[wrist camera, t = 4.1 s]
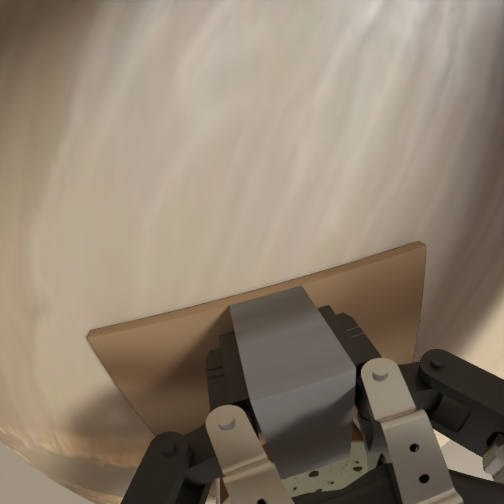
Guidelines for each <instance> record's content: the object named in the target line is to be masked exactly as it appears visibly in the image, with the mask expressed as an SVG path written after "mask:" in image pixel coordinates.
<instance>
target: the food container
mask: <svg viewBox="0 0 504 504" xmlns="http://www.w3.org/2000/svg"><path fill="white" fill-rule="evenodd" d="M262 447H263V449H264V451H265V453H266V455H267V457H268V458H269V459H270V461H271V463H272V465H273V467H274V468H275V470H276V472H277V474H278V471H277V469H276V467H275V464H274V462H273V459H272V457H271V454H270V452H269V449H268V447H267V444H266V443H265V444H263V445H262ZM367 472H368V469H367V455H366V450H365V446H364V442H363V437H362V433H361V429H360V425H359V422H358V420H357V419H356V417H355V416H354V417H353V429H352V440H351V450H350V457H348V458H346V459H343V460H340V461H338V462H335V463H332V464H329V465H327V466H324V467H321V468H318V469H315V470H311V471H308V472H305V473H302V474H298V475H295V476H291V477H288V478H284V479H281V481H282V483H283V485H284V486H285V488H286V490H287V492H288V493H289V495H290V497H295V496H298V495H302V494H305V493H312V492H323V491H331V490H339V489H342V488H344V487H346V486H348V485H349V484H351V483H352V482H354V481H355V480H357V479H358V478H360V477H361V476H362V475H364V474H365V473H367ZM278 476H279V474H278ZM279 477H280V476H279ZM216 504H233V503H232V501H231V499H230V496H229V494H228V492H227V489H226V487H225V484H224V481H223V478H222V476H221V477H219V478H217V479H216Z"/></svg>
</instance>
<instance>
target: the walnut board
mask: <svg viewBox="0 0 504 504" xmlns="http://www.w3.org/2000/svg"><path fill="white" fill-rule="evenodd" d="M425 261H426V245H425V244H423V243H421V242H420V241H417V242H414V243H411V244H408V245H405V246H402V247H399V248H396V249H393V250H390V251H387V252H384V253H380V254H377V255H374V256H371V257H368V258H364V259H361V260H358V261H355V262H351V263H348V264H345V265H342V266H338V267H335V268H332V269H328V270H325V271H322V272H318V273H315V274H311V275H308V276H304V277H301V278H297V279H294V280H290V281H287V282H283V283H280V284H276V285H273V286H269V287H265V288H262V289H258V290H254V291H251V292H247V293H243V294H240V295H236V296H232V297H228V298H224V299H221V300H217V301H213V302H209V303H205V304H201V305H197V306H193V307H189V308H185V309H181V310H177V311H173V312H169V313H165V314H161V315H156V316H152V317H148V318H144V319H139V320H135V321H131V322H126V323H122V324H117V325H113V326H108V327H104V328H99V329H95V330H91V331H90V333H89V335H88V338H87V339H88V340H89V342H90V344H91V345H92V347H93V349H94V350H95V352H96V354H97V355H98V357H99V359H100V360H101V362H102V363H103V365H104V367H105V368H106V370H107V371H108V373H109V374H110V376H111V377H112V379H113V380H114V382H115V383H116V385H117V386H118V388H119V389H120V391H121V392H122V393H123V395H124V396H125V398H126V399H127V400H128V402H129V403H130V404H131V406H132V407H133V409H134V410H135V411H136V413H137V414H138V415H139V416H140V418H141V419H142V420H143V422H144V423H145V424H146V425H147V427H148V428H149V429H150V430H151V432H152V433H153V434H154V435H155V436H157V435H159V434H161V433H164V432H168V431H173V432H177V433H180V434H181V435H185V434H187V433H189V432H192V431H194V430H196V429H198V428H199V427H201V426H202V425H203V424H204V423H205V422H206V419H207V417H208V415H209V414H210V405H209V395H208V385H207V374H206V372H207V371H206V362H205V360H206V358H207V355H208V353H209V351H210V350H213V349H218V348H220V341H219V335H222V334H226V333H230V332H234V331H235V336H236V340H237V345H238V349H239V354H240V359H241V363H242V368H243V372H244V376H245V381H246V385H247V389H248V394H249V398H250V402H251V405H252V407H253V410H254V413H255V415H256V418H257V421H258V423H259V426H260V429H261V431H262V433H258V436H259V440H260V443H261V445H263V444H265V443H266V444H267V447H268V449H269V452H270V454H271V457H272V459H273V462H274V464H275V467H276V469H277V471H278V474H279V476H280V479H284V478H288V477H291V476H295V475H298V474H302V473H305V472H308V471H311V470H315V469H318V468H321V467H324V466H327V465H329V464H332V463H335V462H338V461H340V460H343V459H346V458H348V457H350V450H351V440H352V429H353V417H354V416H355V417H356V419H357V420H358V418H357V411H358V409H357V408H356V406H355V404H354V402H355V383H356V367H355V365H354V364H353V362H352V361H351V359H350V357H349V356H348V354H347V353H346V351H345V350H344V348H343V347H342V345H341V344H340V342H339V341H338V339H337V338H336V336H335V335H334V333H333V332H332V330H331V329H330V327H329V326H328V324H327V323H326V321H325V320H324V318H323V317H322V315H321V314H320V312H319V311H318V309H317V308H319V307H322V306H326V305H329V306H330V307H331V308H332V310H333V311H334V313H335V314H336V315H337V314H340V313H343V312H344V313H345V314H347V315H349V316H351V317H352V318H354V320H355V321H356V322H357V324H358V325H359V327H360V328H361V329H362V330H363V332H364V334H366V336H367V337H368V338H369V340H370V341H371V343H372V344H373V345H374V347H375V348H376V349H377V351H378V352H379V353H380V355H381V356H382V357H383V358H387V359H390V360H392V361H394V362H395V363H396V364H401V365H402V364H410V363H412V362H413V357H414V352H415V346H416V340H417V334H418V328H419V321H420V314H421V306H422V297H423V287H424V276H425ZM209 494H210V495H211V496H212V497H216V479H215V480H213V482H212V485H211V488H210V491H209Z"/></svg>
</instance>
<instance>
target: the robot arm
mask: <svg viewBox="0 0 504 504" xmlns="http://www.w3.org/2000/svg"><path fill="white" fill-rule="evenodd" d="M317 309H318V311H319V312H320V314H321V315H322V317H323V318H324V320H325V321H326V323H327V324H328V326H329V327H330V329H331V330H332V332H333V333H334V335H335V336H336V338H337V339H338V341H339V342H340V344H341V345H342V347H343V348H344V350H345V351H346V353H347V354H348V356H349V357H350V359H351V361H352V362H353V364H354V365H355V367H356V383H355V402H354V404H355V406H356V408H357V409H358V411H357V418H358V422H359V425H360V429H361V433H362V437H363V442H364V446H365V450H366V455H367V469H368V472H367V473H365V474H364V475H362V476H361V477H360V478H358V479H357V480H355V481H354V482H352V483H351V484H349V485H348V486H346V487H344V488H342V489H339V490H331V491H323V492H312V493H305V494H302V495H298V496H295V497H290V495H289V493H288V492H287V490H286V488H285V486H284V485H283V483H282V481H281V479H280V477H279V476H278V474H277V472H276V470H275V468H274V467H273V465H272V463H271V461H270V459H269V458H268V457H267V455H266V453H265V451H264V449H263V447H262V445H261V443H260V440H259V436H258V433H262V431H261V429H260V426H259V423H258V421H257V418H256V415H255V413H254V410H253V407H252V405H251V402H250V398H249V394H248V389H247V385H246V381H245V376H244V372H243V368H242V363H241V359H240V354H239V349H238V345H237V340H236V336H235V331H234V332H230V333H226V334H222V335H219V341H220V348H218V349H213V350H210V351H209V353H208V355H207V358H206V360H205V362H206V371H207V372H206V374H207V385H208V395H209V405H210V414H209V415H208V417H207V419H206V422H205V423H204V424H203V425H202V426H201V427H199V428H198V429H196V430H194V431H192V432H189V433H187V434H185V435H181V434H180V433H177V432H173V431H168V432H164V433H161V434H159V435H157V436H156V437H155V438H154V439H153V440H152V441H151V443H150V445H149V447H148V449H147V451H146V453H145V455H144V457H143V459H142V461H141V463H140V465H139V467H138V469H137V471H136V473H135V475H134V477H133V479H132V482H131V484H130V486H129V488H128V490H127V492H126V494H125V496H124V498H123V500H122V502H121V504H205V502H206V499H207V496H208V493H209V491H210V488H211V485H212V482H213V480H215V479H217V478H219V477H221V476H222V478H223V481H224V484H225V487H226V489H227V492H228V494H229V496H230V499H231V501H232V503H233V504H504V380H503V379H501V378H499V377H497V376H495V375H493V374H491V373H489V372H487V371H485V370H483V369H481V368H479V367H477V366H475V365H473V364H471V363H469V362H467V361H465V360H463V359H461V358H459V357H457V356H455V355H453V354H451V353H449V352H447V351H445V350H441V349H433V350H430V351H427V352H426V353H425V354H424V355H423V356H422V357H421V360H420V362H416V363H410V364H402V365H401V364H396V363H395V362H394V361H392V360H390V359H387V358H383V357H382V356H381V355H380V353H379V352H378V351H377V349H376V348H375V347H374V345H373V344H372V343H371V341H370V340H369V338H368V337H367V336H366V334H364V332H363V330H362V329H361V328H360V327H359V325H358V324H357V322H356V321H355V320H354V318H352V317H351V316H349V315H347V314H345V313H344V312H343V313H340V314H337V315H336V314H335V313H334V311H333V310H332V308H331V307H330V306H329V305H326V306H322V307H319V308H317ZM433 429H435V430H436V431H438V432H440V433H441V434H443V435H445V436H446V437H448V438H450V439H451V440H453V441H455V442H457V443H458V444H460V445H462V446H463V447H465V448H467V449H468V450H470V451H472V452H474V453H475V454H477V455H479V456H481V457H483V469H484V471H485V472H486V473H490V474H491V475H492V477H493V479H494V481H490V480H486V479H482V478H478V477H474V476H471V475H467V474H463V473H460V472H457V471H453V470H450V469H448V468H447V466H446V463H445V460H444V457H443V454H442V452H441V449H440V446H439V444H438V441H437V438H436V436H435V433H434V431H433Z"/></svg>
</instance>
